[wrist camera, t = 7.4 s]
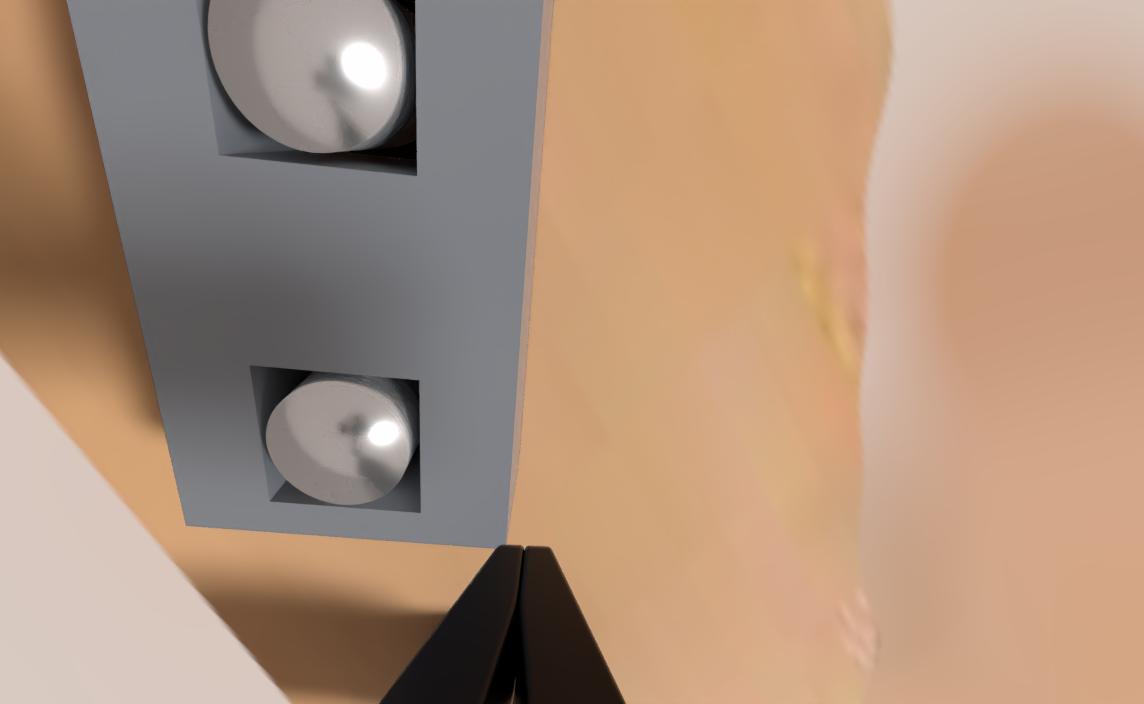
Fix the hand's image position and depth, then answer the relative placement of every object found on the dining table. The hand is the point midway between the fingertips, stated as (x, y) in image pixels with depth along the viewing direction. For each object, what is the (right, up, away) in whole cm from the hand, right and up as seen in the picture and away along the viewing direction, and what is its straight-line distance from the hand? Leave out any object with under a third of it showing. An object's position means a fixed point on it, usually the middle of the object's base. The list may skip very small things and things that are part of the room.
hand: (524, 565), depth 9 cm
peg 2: (-6, +3, +11) cm, 13 cm away
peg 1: (-5, +12, +7) cm, 15 cm away
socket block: (-5, +7, +9) cm, 13 cm away
